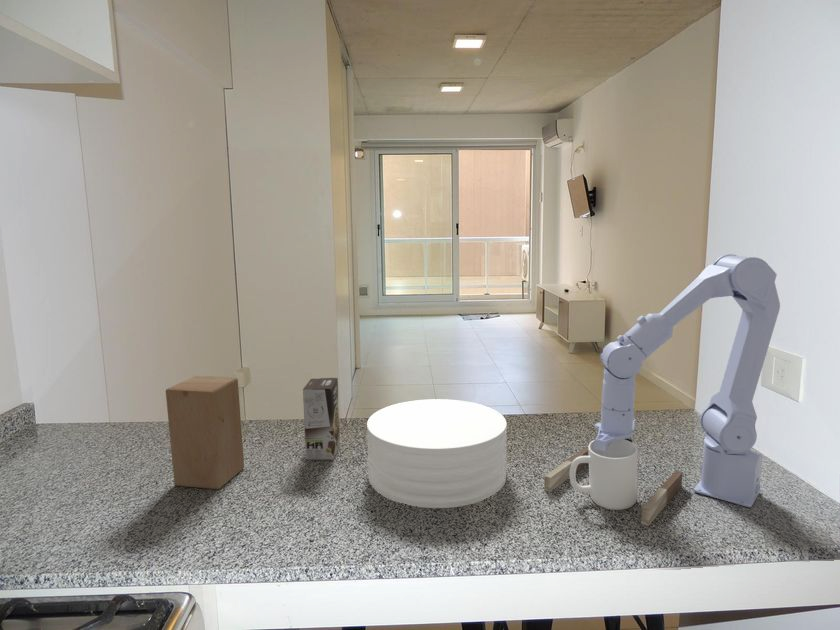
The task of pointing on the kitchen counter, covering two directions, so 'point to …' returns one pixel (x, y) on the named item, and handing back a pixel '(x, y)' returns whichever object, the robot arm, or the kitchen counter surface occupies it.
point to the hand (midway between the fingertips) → (613, 474)
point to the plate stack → (437, 452)
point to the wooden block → (205, 431)
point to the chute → (648, 509)
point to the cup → (610, 475)
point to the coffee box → (321, 418)
